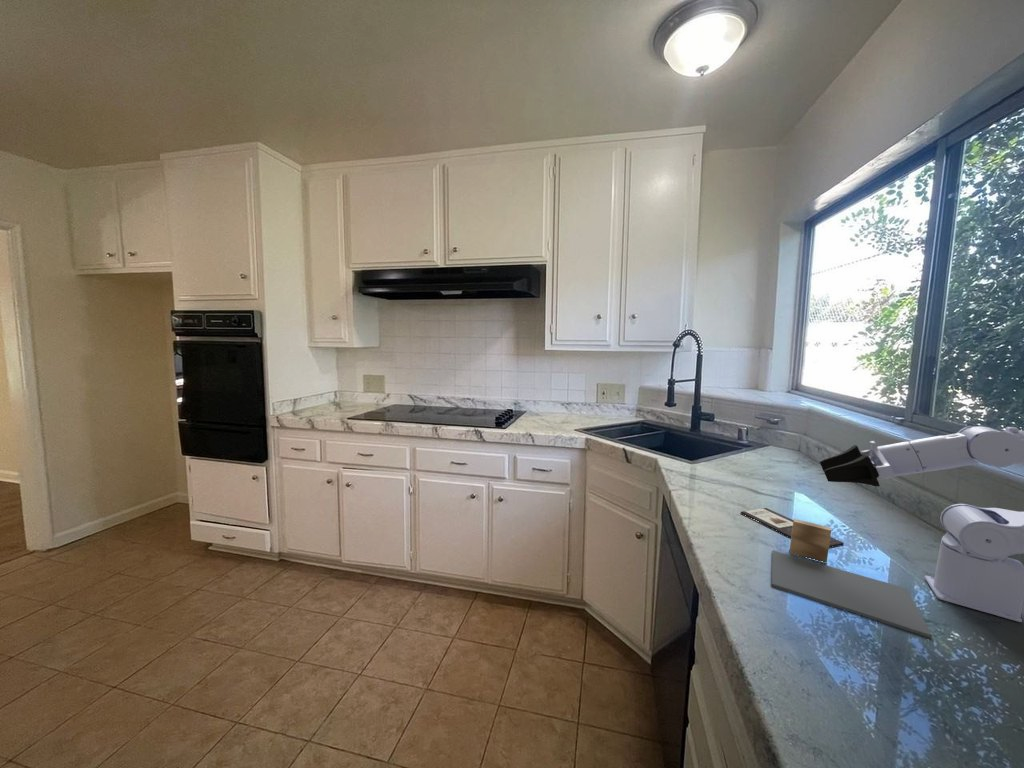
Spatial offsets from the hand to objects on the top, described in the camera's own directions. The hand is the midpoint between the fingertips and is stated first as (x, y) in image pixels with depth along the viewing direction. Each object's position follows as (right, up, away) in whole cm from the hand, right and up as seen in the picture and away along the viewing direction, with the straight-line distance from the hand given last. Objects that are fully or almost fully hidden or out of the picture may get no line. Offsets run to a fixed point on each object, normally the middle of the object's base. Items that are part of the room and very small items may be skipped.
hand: (823, 471), depth 78 cm
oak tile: (-2, -18, +2) cm, 18 cm away
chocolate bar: (+3, -17, +14) cm, 23 cm away
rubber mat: (-4, -19, -9) cm, 21 cm away
